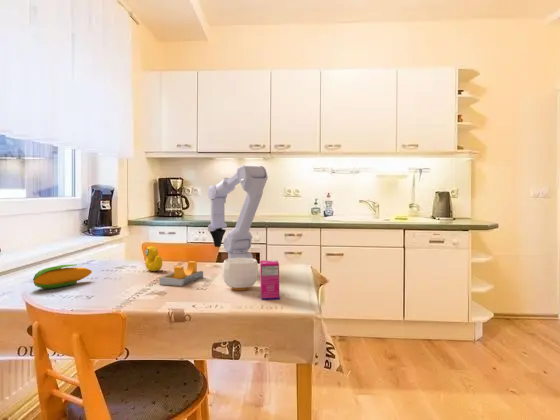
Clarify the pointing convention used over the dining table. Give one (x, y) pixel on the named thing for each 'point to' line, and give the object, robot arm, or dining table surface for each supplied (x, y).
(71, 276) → the corn
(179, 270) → the pipe clamp
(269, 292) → the supplement box
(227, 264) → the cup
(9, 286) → the dining table surface
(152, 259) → the duckling
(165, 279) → the grey shallow rectangular tray
